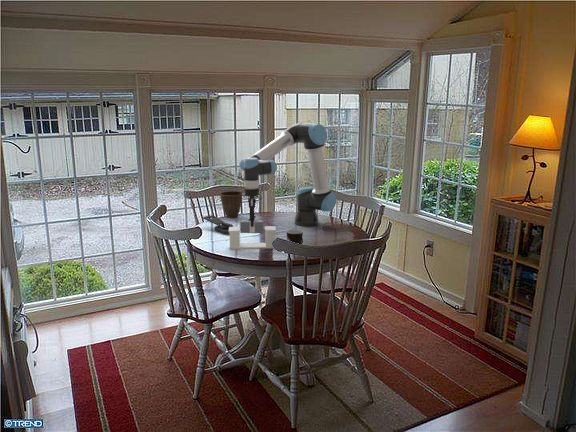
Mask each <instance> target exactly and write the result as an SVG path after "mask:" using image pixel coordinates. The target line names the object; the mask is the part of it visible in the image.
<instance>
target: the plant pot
mask: <svg viewBox="0 0 576 432" xmlns="http://www.w3.org/2000/svg"><path fill="white" fill-rule="evenodd" d="M243 194H244V193H243V192H242V191H238V190H237V191H231V190H230V191H224V192H223V191H222V192H220V193H219V196H220V202H221V206H222V208H223V212H224V214H225V216H226V218H227V217H228V219H234V218H235V217H236V218H238V217H239V214H240V210H241V207H242V202H243Z"/></svg>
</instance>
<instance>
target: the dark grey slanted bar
mask: <svg viewBox="0 0 576 432" xmlns="http://www.w3.org/2000/svg"><path fill="white" fill-rule="evenodd" d="M202 219H203V220H205V221H207V222H210V223H211V224H214V225H215V226H214V231H215V232H217V233H219V234H221V235H225V236H228V235H229V236H230V233H229V227H234V224H232V223H230V222H229V223H228V222H225V221H224V220H222V219H220V218H218V217H217V216H215V215H214V214H212V215H211V214H210V215H205V216H203V217H202Z"/></svg>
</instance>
